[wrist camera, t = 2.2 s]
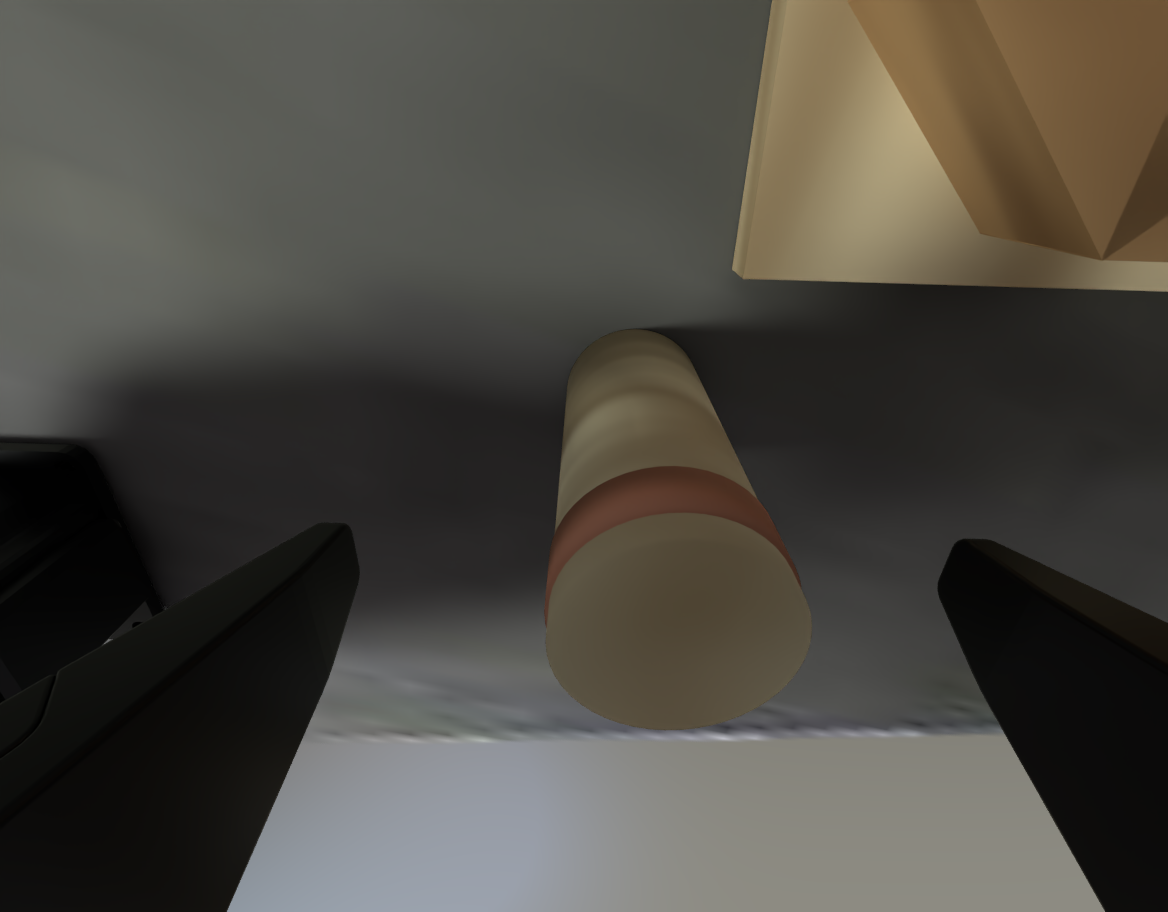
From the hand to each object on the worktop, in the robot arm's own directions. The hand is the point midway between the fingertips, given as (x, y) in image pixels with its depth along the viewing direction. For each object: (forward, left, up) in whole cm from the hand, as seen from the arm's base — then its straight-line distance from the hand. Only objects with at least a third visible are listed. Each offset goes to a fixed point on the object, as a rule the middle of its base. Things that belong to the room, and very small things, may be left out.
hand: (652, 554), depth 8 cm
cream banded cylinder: (0, 0, -6) cm, 6 cm away
